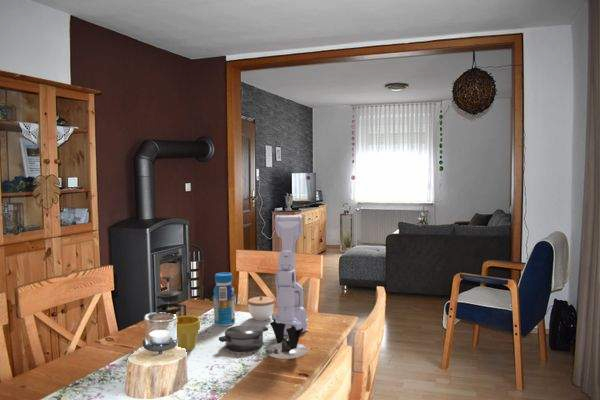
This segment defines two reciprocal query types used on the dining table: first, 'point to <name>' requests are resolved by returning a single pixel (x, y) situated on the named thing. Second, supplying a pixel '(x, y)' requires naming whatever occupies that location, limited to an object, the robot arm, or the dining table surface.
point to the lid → (286, 350)
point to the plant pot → (187, 331)
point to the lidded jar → (261, 307)
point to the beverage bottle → (224, 300)
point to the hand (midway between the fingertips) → (286, 345)
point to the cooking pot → (243, 338)
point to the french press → (170, 300)
